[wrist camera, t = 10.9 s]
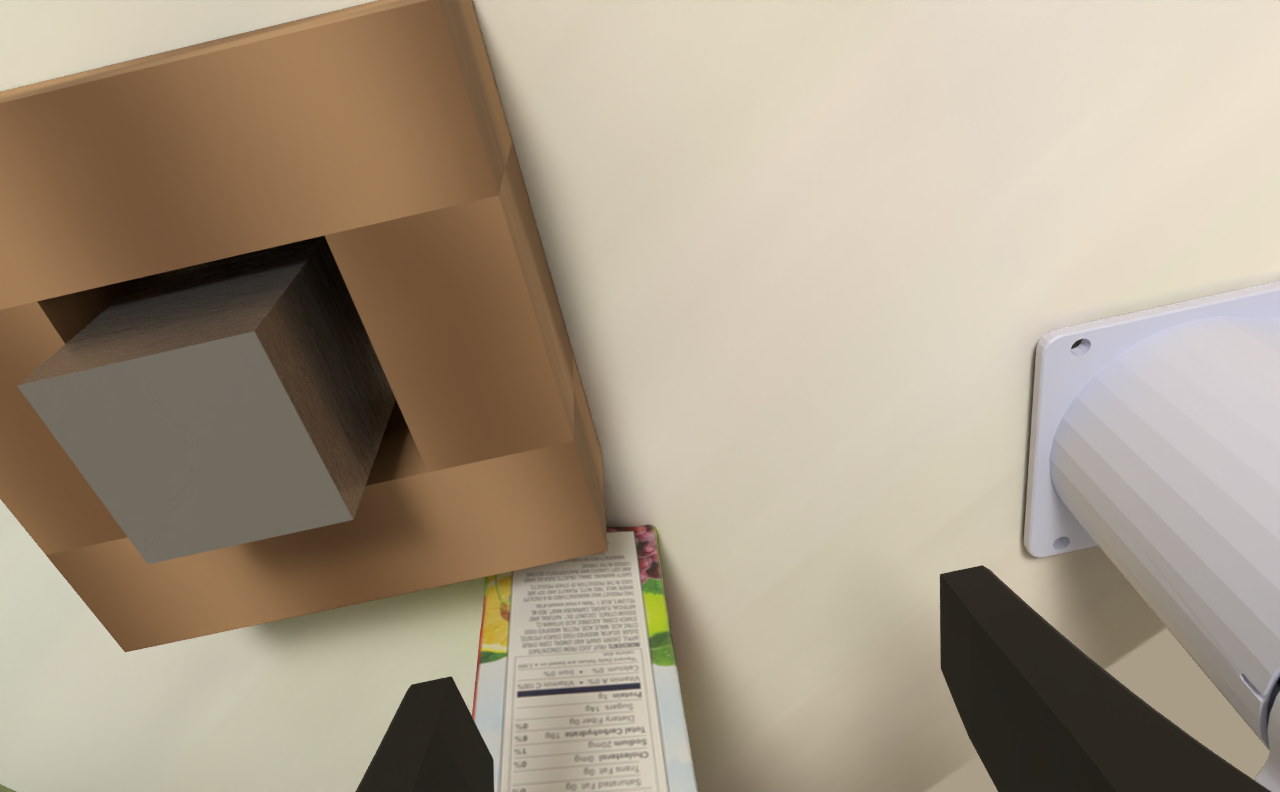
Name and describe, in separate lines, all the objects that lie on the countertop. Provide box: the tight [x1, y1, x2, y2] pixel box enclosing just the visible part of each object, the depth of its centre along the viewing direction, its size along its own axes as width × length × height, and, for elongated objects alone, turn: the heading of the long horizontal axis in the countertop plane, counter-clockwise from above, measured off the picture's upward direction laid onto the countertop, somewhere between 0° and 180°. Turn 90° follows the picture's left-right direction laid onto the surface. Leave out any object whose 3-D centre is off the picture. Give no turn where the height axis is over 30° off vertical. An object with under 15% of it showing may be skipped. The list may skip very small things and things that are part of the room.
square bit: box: [17, 236, 396, 564], centre depth 17 cm, size 4×4×6 cm
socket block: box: [0, 0, 608, 652], centre depth 18 cm, size 12×12×4 cm
